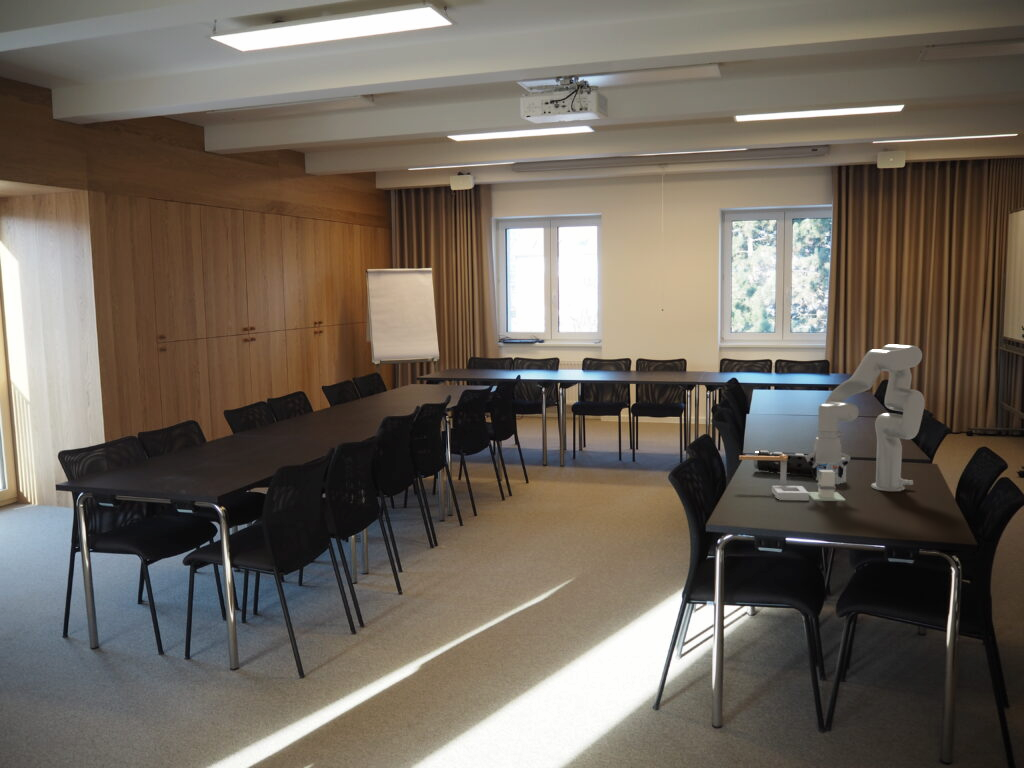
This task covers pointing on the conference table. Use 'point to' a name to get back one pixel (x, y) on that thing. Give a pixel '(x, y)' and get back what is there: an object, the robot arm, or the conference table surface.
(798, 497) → the socket block
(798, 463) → the muzzle brake
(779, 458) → the wooden bar
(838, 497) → the mat
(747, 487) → the conference table surface
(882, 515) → the conference table surface
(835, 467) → the light bulb box
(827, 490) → the plug
